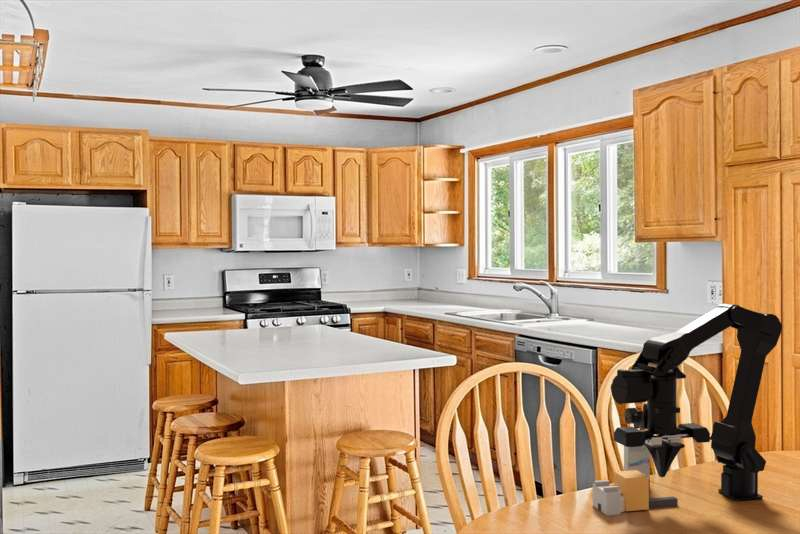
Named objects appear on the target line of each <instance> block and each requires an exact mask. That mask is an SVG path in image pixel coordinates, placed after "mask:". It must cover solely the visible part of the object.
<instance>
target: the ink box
mask: <svg viewBox="0 0 800 534" xmlns="http://www.w3.org/2000/svg"><path fill="white" fill-rule="evenodd" d="M641 431H643V430H642V429H641ZM650 456H651V454H650V452H649V450H648V449H647V447H646V446H644V445H643V446H640V447H626V446H624V445H623V471H631V470H637V471H639V472H641V473H643V474H645V475H646V476H648V477H649V493H650V492H651V480H650V479H651V470H650V468H651V467H650V465H651V464H650V463H651V462H650V461H651V460H650V459H651V457H650Z"/></svg>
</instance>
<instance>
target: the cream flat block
mask: <svg viewBox="0 0 800 534" xmlns="http://www.w3.org/2000/svg"><path fill="white" fill-rule="evenodd" d="M624 512H625V510H624V496H622V495H621V513H624Z"/></svg>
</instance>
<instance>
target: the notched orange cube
mask: <svg viewBox="0 0 800 534" xmlns="http://www.w3.org/2000/svg"><path fill="white" fill-rule="evenodd" d="M613 473H614V474H613V476H614V478H613V486H618V487H619V491H620V492H621V495H622V496H624V512H632V511H634V512H635V511H636V512H637V511H644V510H645V511H646V510H647V511H648V510H649V509H650V508H649V498H650V494H649V493H650V492H649V477H648V476H646V475H645V474H643V473H641V472H639V471H637V470H631V471H624V470H621V471H614V472H613Z"/></svg>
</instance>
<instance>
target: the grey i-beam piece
mask: <svg viewBox="0 0 800 534" xmlns="http://www.w3.org/2000/svg"><path fill="white" fill-rule="evenodd" d="M598 504H601V506H599V507H601V510H600V511H599V512H601V513H603V514H604V515H605V516H606V517H607V516H617V515H618V516H619V515H621V513H622V512H621V492H620V491H619V487H618V486H614V485H610V480H608V479H606V480H605V479H604V480H601V479H600V480H594V481H593V483H592V507H594V508H595V509H597V510H598Z"/></svg>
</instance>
